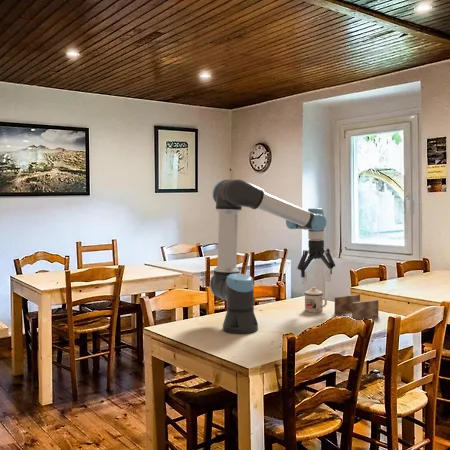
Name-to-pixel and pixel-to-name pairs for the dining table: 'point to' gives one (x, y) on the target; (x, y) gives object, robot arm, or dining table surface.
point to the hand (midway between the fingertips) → (316, 282)
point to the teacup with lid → (314, 300)
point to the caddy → (356, 307)
